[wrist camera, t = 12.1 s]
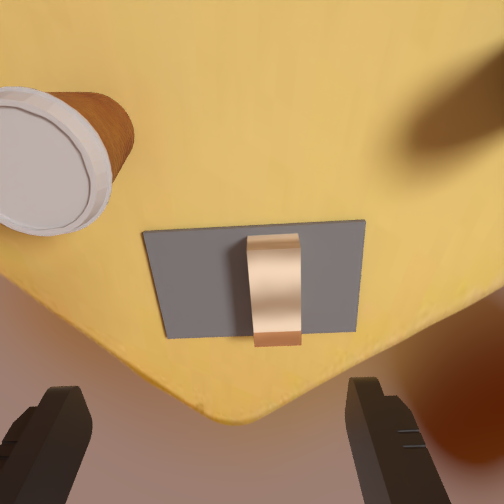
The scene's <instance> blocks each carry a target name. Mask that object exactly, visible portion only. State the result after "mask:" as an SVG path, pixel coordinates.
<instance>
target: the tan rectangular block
mask: <svg viewBox="0 0 504 504" xmlns="http://www.w3.org/2000/svg"><path fill="white" fill-rule="evenodd" d="M247 261H248V272H249V284H250V296H251V307H252V319H253V330H254V344H255V347H267V346H293V345H301V247H300V242H299V236H298V233H292V234H272V235H253V236H248V237H247Z"/></svg>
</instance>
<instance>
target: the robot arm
mask: <svg viewBox="0 0 504 504" xmlns="http://www.w3.org/2000/svg"><path fill="white" fill-rule="evenodd" d="M345 422H346V430H347V434H348V438H349V442H350V446H351V450H352V454H353V459H354V463H355V466H356V470H357V475H358V479H359V482H360V487H361V491H362V495H363V498H364V502H365V504H451V502H450V500H449V497H448V495H447V493H446V491H445V488H444V486H443V484H442V482H441V479H440V477H439V474H438V472H437V470H436V467H435V465H434V463H433V461H432V458H431V456H430V454H429V451H428V449H427V448H426V446H425V442H424V440H423V437H422V435H421V433H419V428H418V426H417V424H416V421H415V419H414V417H413V414H412V412H411V411H410V409H408V407H407V406H406V405H405V404H404V403H403V402H402V401H401V399H400V398H399V397H397V396H384V394H383V391H382V388H381V386H380V383H379V381H378V379H377V378H376V377H356V378H350V379H349V384H348V392H347V400H346V408H345ZM91 434H92V418H91V415H90V413H89V410H88V407H87V405H86V402H85V399H84V397H83V394H82V391H81V389H80V388H79V387H78V386H61V387H60V386H59V387H50V388H49V389H48V390H47V391H46V393H45V394H44V396H43V398H42V399H41V401H40V403H39V405H38V406H37V407H29V408H28V409H27V410H26V411H25V412H24V413H23V414H22V415H21V416H20V417H19V418H18V419H17V420H16V421H15V422H14V423H13V424H12V426H11V427H10V429H9V431H8V432H7V434H6V435H5V437H4V439H3V441H2V444H1V445H0V504H65V503H66V501H67V498H68V495H69V492H70V490H71V488H72V485H73V483H74V480H75V477H76V475H77V472H78V470H79V467H80V465H81V462H82V459H83V457H84V454H85V452H86V449H87V447H88V444H89V442H90V439H91Z"/></svg>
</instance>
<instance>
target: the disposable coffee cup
mask: <svg viewBox="0 0 504 504" xmlns="http://www.w3.org/2000/svg"><path fill="white" fill-rule="evenodd" d="M133 143H134V130H133V126H132V123H131V120H130V118H129V116H128V114H127V113H126V112H125V110H124V109H123V108H122V107H121V106H120V105H119V104H118V103H117V102H116V101H114V100H113V99H111V98H109V97H108V96H105V95H103V94H99V93H91V92H42V91H39V90H36V89H33V88H26V87H1V88H0V223H1V224H3V225H5V226H7V227H9V228H11V229H13V230H16V231H19V232H22V233H26V234H29V235H37V236H54V235H60V234H65V233H71V232H75V231H78V230H80V229H83V228H85V227H87V226H88V225H90V224H91V223H93V222H94V221H95V220H96V219H97V218H98V217H99V216H100V215H101V213H102V212H103V211H104V209H105V207H106V205H107V203H108V201H109V198H110V194H111V189H112V183H113V181H114V180H115V178H116V176H117V175H118V173H119V171H120V169H121V167H122V165H123V164H124V162H125V160H126V158H127V157H128V155H129V153H130V151H131V149H132V147H133Z"/></svg>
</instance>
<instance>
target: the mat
mask: <svg viewBox="0 0 504 504" xmlns="http://www.w3.org/2000/svg"><path fill="white" fill-rule="evenodd" d="M365 225H366V221H365V220H347V221H328V222H308V223H289V224H270V225H250V226H231V227H212V228H193V229H173V230H154V231H144V232H143V236H144V240H145V244H146V249H147V253H148V257H149V261H150V266H151V270H152V274H153V279H154V283H155V287H156V291H157V296H158V300H159V304H160V308H161V313H162V317H163V321H164V325H165V330H166V334H167V338H168V339H176V338H203V337H229V336H254V330H253V319H252V307H251V296H250V284H249V272H248V261H247V237H248V236H253V235H272V234H292V233H298V236H299V242H300V247H301V334H309V333H336V332H356V324H357V313H358V302H359V291H360V280H361V269H362V258H363V247H364V236H365Z"/></svg>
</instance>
